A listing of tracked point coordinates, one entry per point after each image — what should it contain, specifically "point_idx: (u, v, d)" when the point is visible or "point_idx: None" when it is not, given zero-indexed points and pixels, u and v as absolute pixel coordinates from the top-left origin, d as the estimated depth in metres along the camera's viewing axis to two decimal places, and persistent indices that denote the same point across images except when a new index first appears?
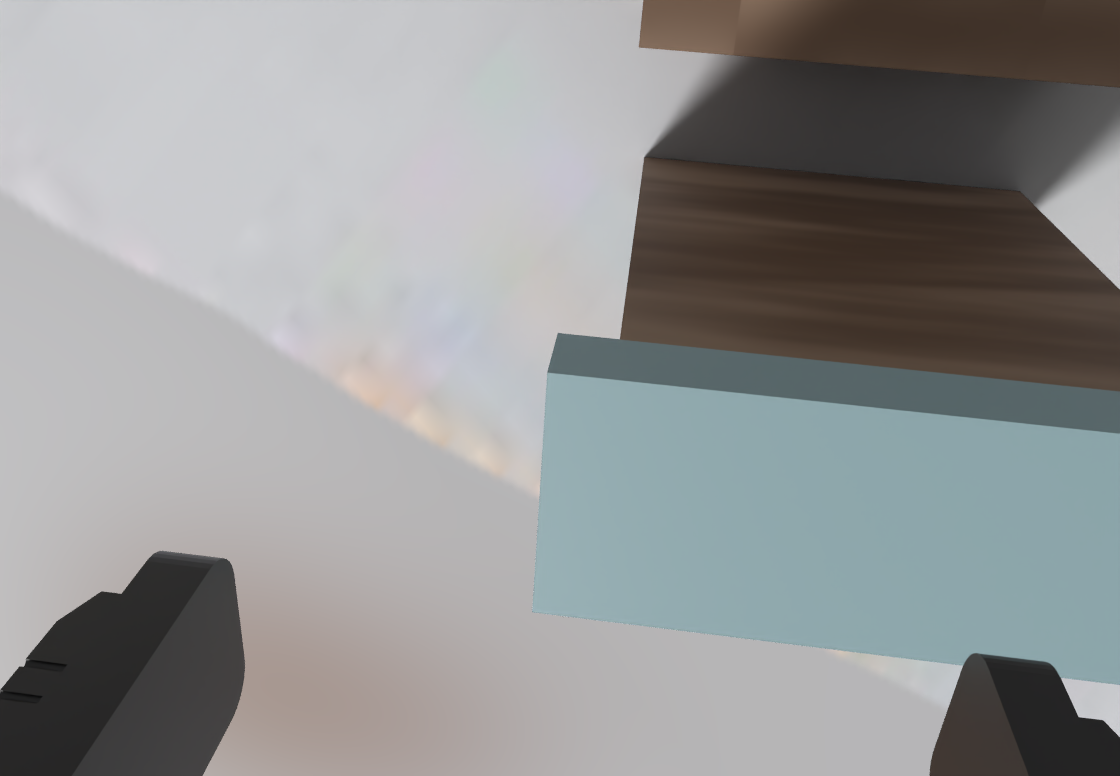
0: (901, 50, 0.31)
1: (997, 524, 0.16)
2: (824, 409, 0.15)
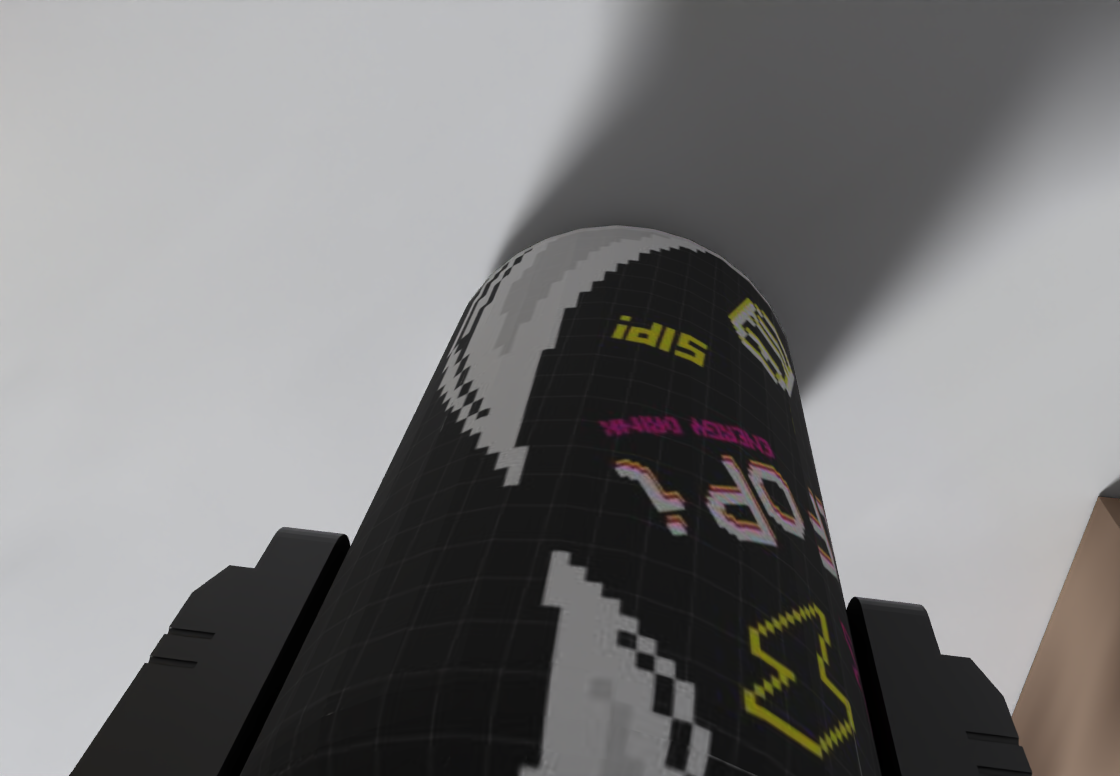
0: None
1: None
2: None
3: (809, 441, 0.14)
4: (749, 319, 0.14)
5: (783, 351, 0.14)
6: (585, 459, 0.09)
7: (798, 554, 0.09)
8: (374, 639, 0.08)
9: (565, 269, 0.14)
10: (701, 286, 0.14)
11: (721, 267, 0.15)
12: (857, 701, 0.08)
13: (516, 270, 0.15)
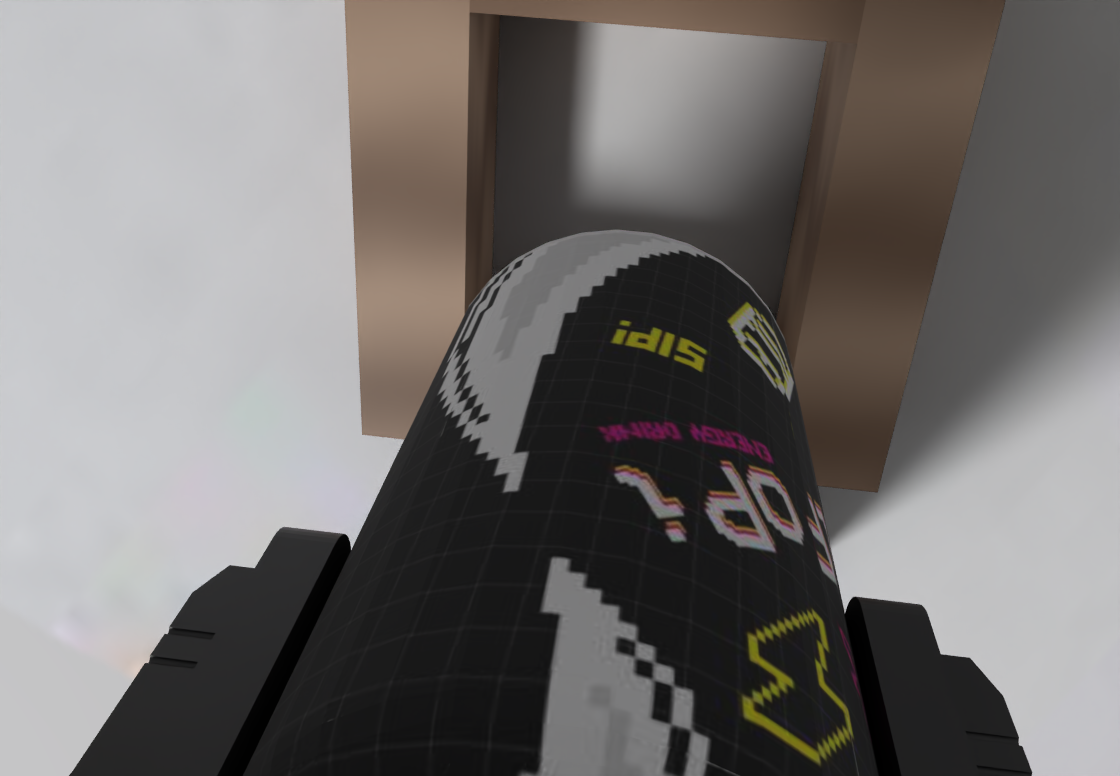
0: None
1: None
2: None
3: (808, 445, 0.14)
4: (749, 324, 0.14)
5: (782, 355, 0.14)
6: (584, 467, 0.09)
7: (797, 560, 0.09)
8: (373, 645, 0.08)
9: (565, 274, 0.14)
10: (700, 291, 0.14)
11: (720, 271, 0.15)
12: (855, 707, 0.09)
13: (516, 274, 0.15)
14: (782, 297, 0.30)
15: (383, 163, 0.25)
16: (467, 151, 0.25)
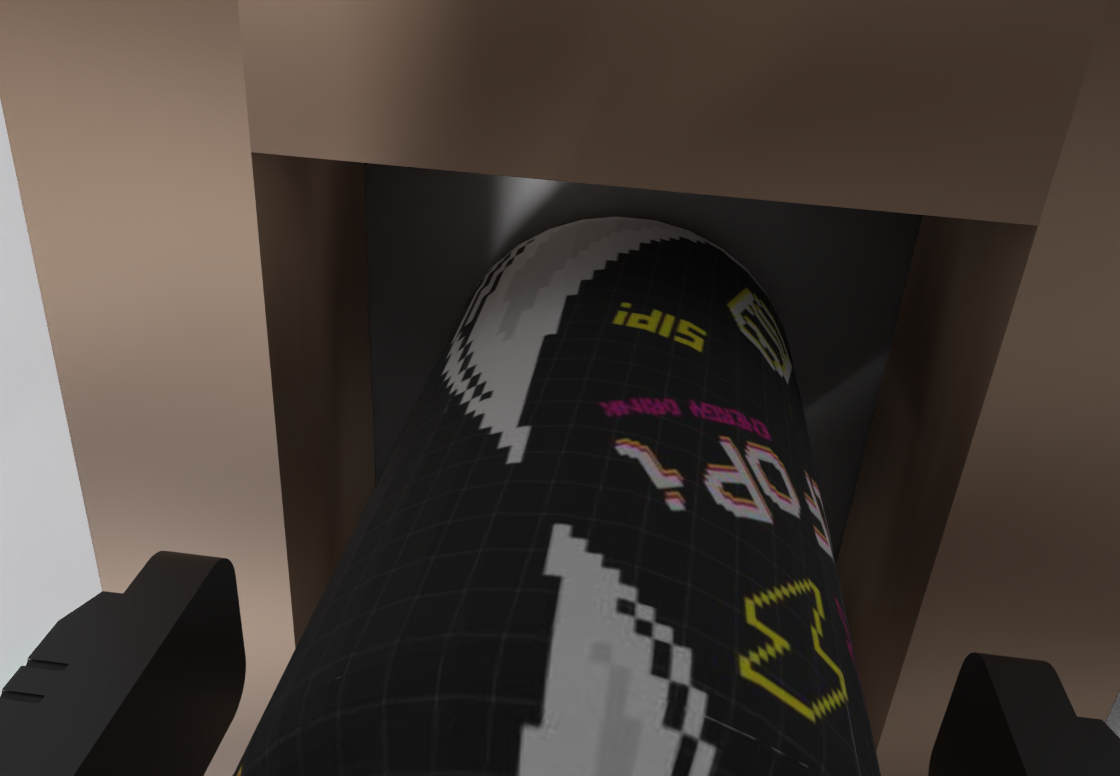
0: None
1: None
2: None
3: (806, 428, 0.14)
4: (747, 307, 0.14)
5: (781, 340, 0.15)
6: (586, 439, 0.09)
7: (794, 533, 0.10)
8: (381, 609, 0.08)
9: (567, 258, 0.14)
10: (700, 276, 0.14)
11: (720, 257, 0.15)
12: (850, 673, 0.09)
13: (518, 260, 0.15)
14: (842, 565, 0.18)
15: (121, 412, 0.13)
16: (274, 396, 0.13)
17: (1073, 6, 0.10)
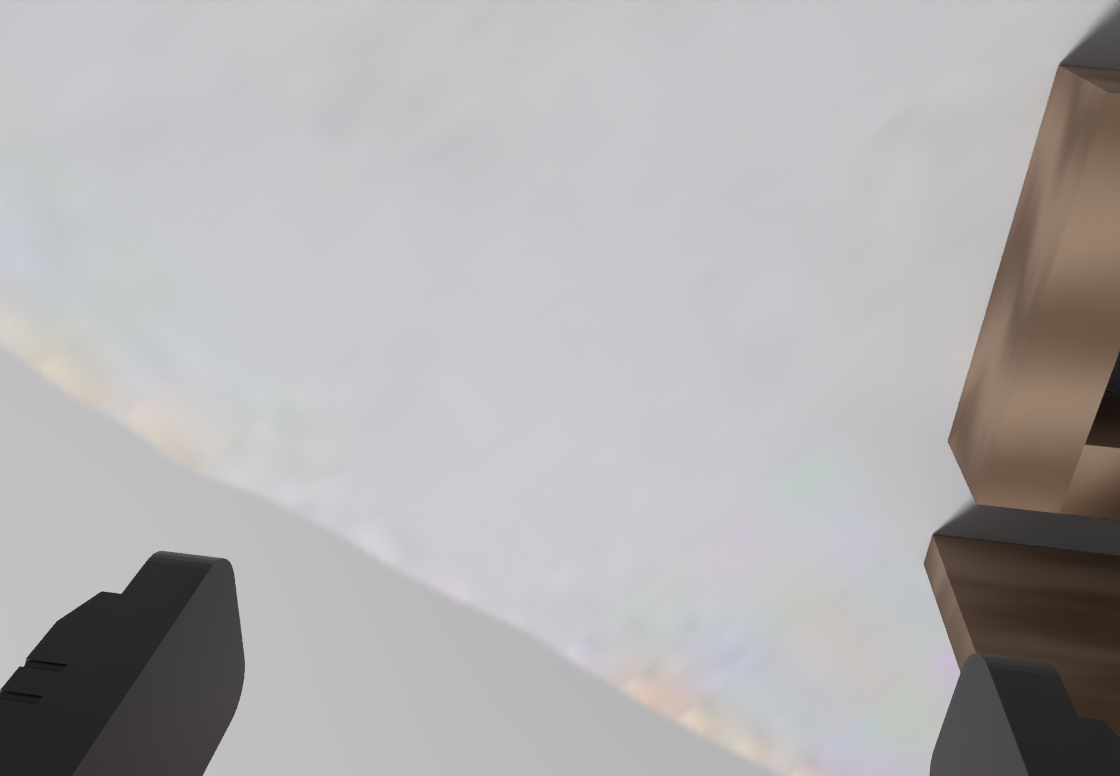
0: None
1: None
2: None
3: None
4: None
5: None
6: None
7: None
8: None
9: None
10: None
11: None
12: None
13: None
14: None
15: (1067, 304, 0.33)
16: None
17: None
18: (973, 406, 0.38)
